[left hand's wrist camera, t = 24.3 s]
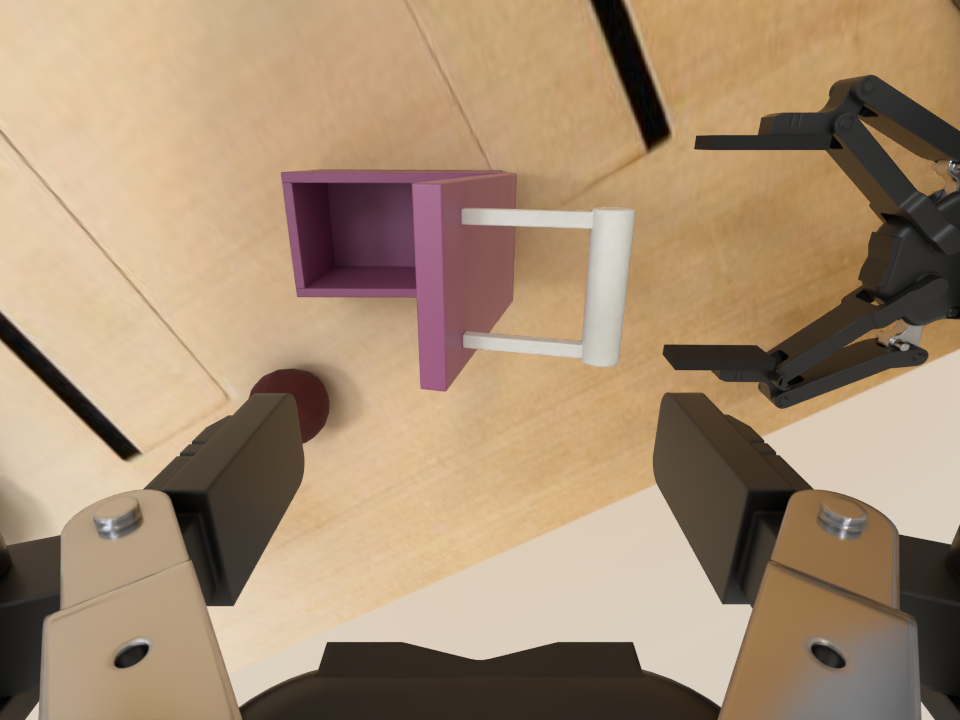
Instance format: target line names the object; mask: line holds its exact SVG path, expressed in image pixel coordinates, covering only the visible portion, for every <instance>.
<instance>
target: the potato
mask: <svg viewBox="0 0 960 720" xmlns="http://www.w3.org/2000/svg"><path fill="white" fill-rule="evenodd" d="M255 393H290V394H292V395H293V396H294V398H295V401H296V405H297V411H298V418H299V425H300V431H301V438H302V444H303V443H306V442H308V441H309V440H311V439H312V438H313V437H315V436H316V435H317V434H318V433H319V432H320V430H321V429H322V428H323V427H324V425H325V423H326V420H327V417H328V413H329V398H328V394H327V391H326V389H325V386H324V385H323V384H322V382H321V381H320V380H319V379H318V378H317V377H316V376H314V375H312V374H311V373H309V372H306V371H301V370H297V369H282V370H277V371H274V372H272V373H270V374H268V375H265V376H264V377H262V378H261V379H260V380H259V381H258V382H257V383H256V385H255V386H254V387H253V388H252V390H251V393H250V396H249V398H250V397H251V396H252V395H253V394H255Z"/></svg>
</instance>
